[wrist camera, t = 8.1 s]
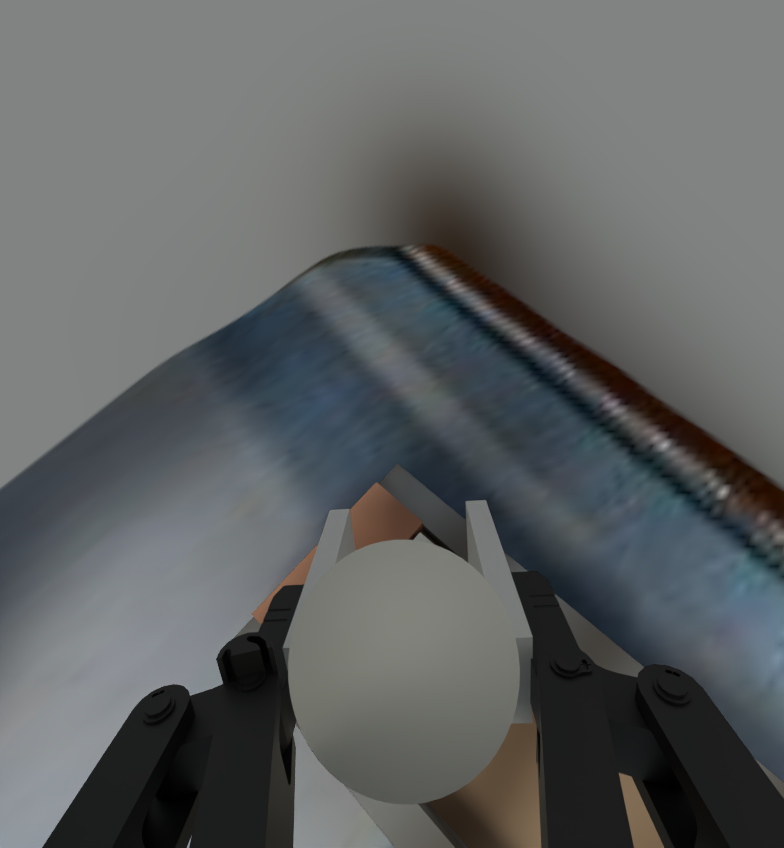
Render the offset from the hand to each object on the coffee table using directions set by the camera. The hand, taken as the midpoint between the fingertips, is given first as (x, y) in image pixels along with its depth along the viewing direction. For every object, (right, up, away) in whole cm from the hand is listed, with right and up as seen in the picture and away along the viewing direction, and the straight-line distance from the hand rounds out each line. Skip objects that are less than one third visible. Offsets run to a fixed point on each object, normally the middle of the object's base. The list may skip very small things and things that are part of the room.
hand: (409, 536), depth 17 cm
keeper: (+1, -6, +3) cm, 6 cm away
